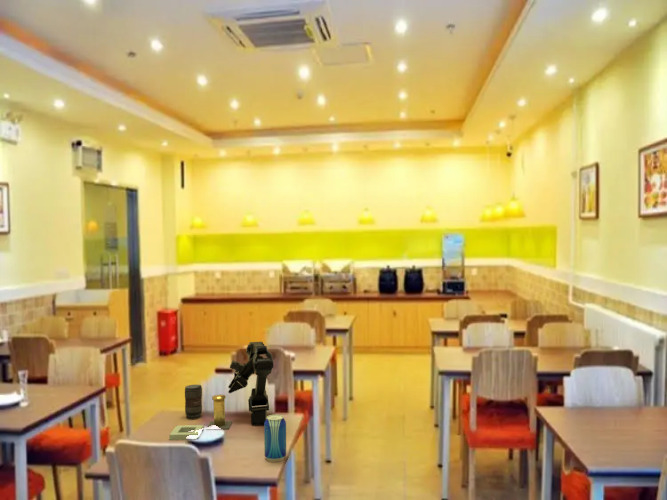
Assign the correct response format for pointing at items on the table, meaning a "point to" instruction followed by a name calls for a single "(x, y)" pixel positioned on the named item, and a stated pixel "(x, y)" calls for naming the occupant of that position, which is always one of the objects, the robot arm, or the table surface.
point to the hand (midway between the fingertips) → (228, 390)
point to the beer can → (275, 438)
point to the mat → (225, 427)
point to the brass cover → (219, 409)
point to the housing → (184, 431)
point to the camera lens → (193, 401)
